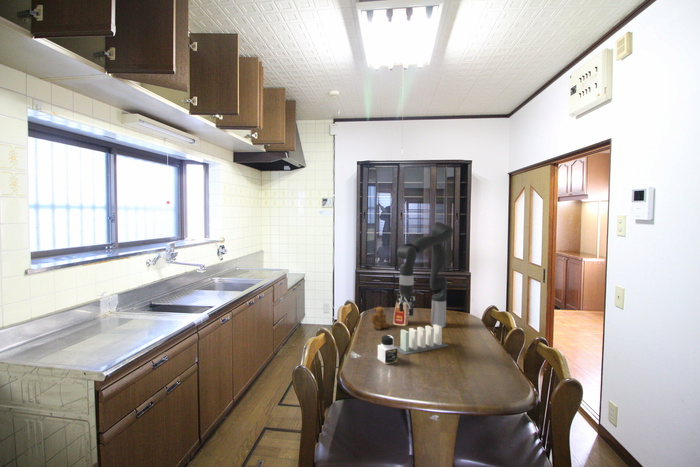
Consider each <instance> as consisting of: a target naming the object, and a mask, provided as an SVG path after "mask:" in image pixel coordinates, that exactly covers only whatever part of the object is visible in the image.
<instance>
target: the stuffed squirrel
mask: <svg viewBox="0 0 700 467" xmlns="http://www.w3.org/2000/svg"><path fill="white" fill-rule="evenodd" d="M373 309H374V311H375V313H373V314H372V315H371V316H370V317H369V321H371V323H372V326H373V328H374V329H375V330H379V331H380V330H382V329H388V328H389V327H390V323H387V321H386V319H387V315H386V314H384V313H385V308H384V307H382V306H377V307H374V308H373Z"/></svg>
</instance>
